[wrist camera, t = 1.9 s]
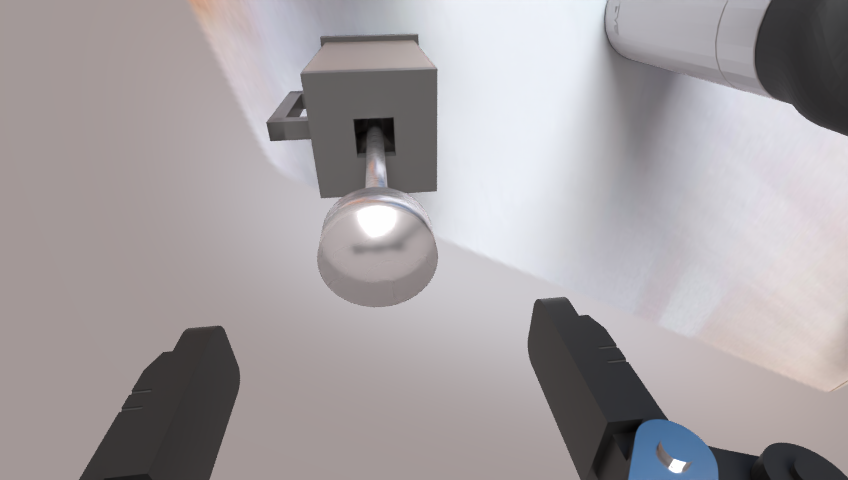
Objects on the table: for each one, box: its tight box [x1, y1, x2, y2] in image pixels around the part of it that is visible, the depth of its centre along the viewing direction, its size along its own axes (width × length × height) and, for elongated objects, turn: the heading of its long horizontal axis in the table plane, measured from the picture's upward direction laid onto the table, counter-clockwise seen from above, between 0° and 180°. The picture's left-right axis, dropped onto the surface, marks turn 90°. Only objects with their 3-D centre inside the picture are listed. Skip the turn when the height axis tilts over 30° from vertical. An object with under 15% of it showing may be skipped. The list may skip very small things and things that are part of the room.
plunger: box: [317, 117, 438, 307], centre depth 21 cm, size 6×6×17 cm
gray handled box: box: [266, 34, 437, 198], centre depth 31 cm, size 11×8×16 cm
